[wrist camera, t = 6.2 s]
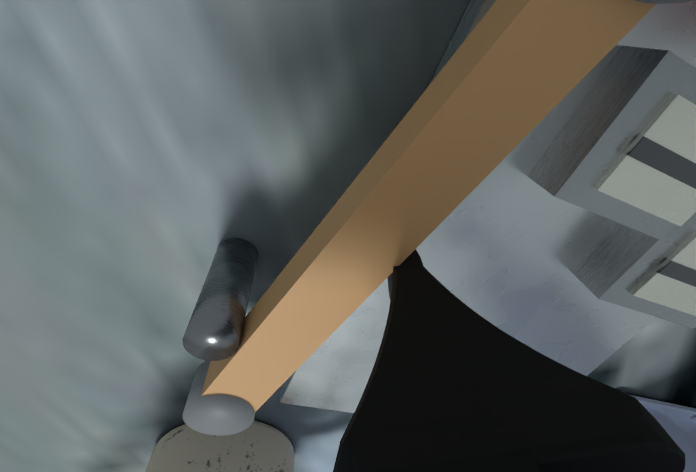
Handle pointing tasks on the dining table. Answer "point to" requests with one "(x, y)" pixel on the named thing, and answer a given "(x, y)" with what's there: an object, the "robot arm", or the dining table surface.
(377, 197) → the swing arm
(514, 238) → the base plate
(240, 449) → the teacup with lid
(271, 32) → the dining table surface
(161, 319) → the dining table surface
